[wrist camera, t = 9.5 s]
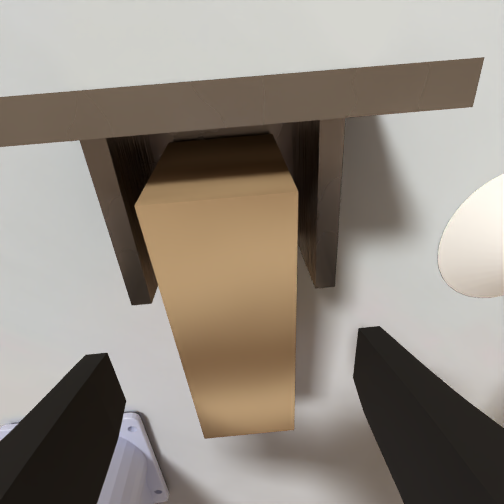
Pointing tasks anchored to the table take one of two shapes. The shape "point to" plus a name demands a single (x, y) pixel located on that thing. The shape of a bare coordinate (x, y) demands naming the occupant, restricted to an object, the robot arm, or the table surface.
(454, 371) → the table surface
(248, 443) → the table surface
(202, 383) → the wooden block
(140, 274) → the bracket
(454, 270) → the champagne flute
